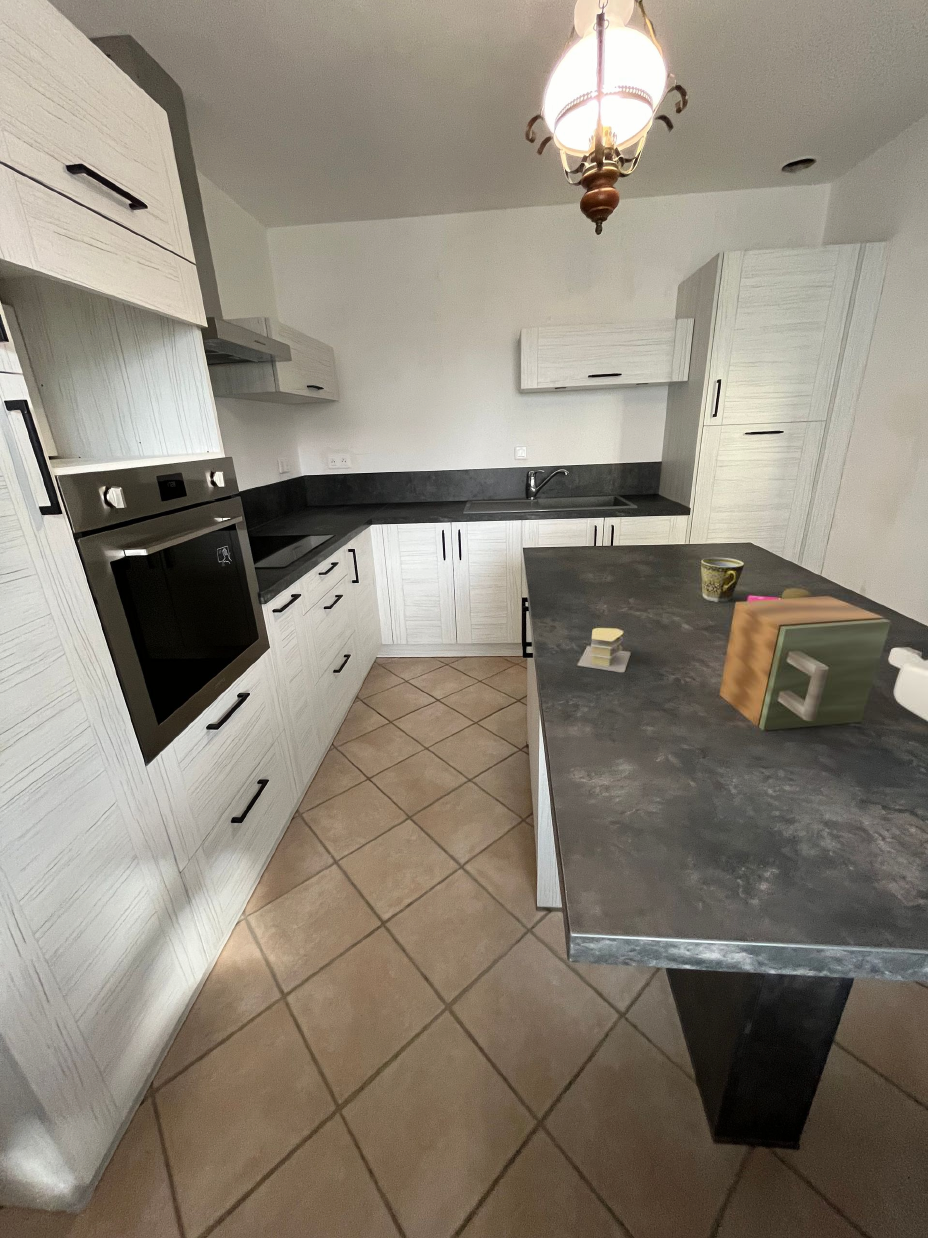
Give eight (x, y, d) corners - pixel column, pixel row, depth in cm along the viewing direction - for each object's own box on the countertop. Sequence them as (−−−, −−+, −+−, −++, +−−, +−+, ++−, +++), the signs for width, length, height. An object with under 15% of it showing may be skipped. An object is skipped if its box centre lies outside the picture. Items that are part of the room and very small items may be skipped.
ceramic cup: (690, 592, 136) (695, 557, 132) (727, 592, 135) (733, 556, 131) (710, 608, 123) (716, 570, 120) (750, 607, 123) (758, 569, 119)
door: (895, 744, 69) (932, 637, 63) (790, 754, 68) (818, 645, 62) (855, 718, 76) (885, 618, 70) (758, 727, 74) (780, 626, 68)
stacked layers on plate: (624, 673, 93) (626, 646, 91) (577, 665, 96) (578, 640, 94) (630, 652, 101) (633, 627, 99) (587, 646, 105) (588, 622, 103)
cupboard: (853, 718, 76) (883, 617, 70) (757, 727, 75) (779, 624, 69) (805, 687, 85) (828, 595, 79) (719, 694, 84) (735, 601, 78)
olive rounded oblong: (766, 638, 105) (776, 589, 101) (777, 630, 109) (787, 583, 105) (798, 646, 101) (810, 596, 97) (808, 638, 105) (820, 589, 101)
